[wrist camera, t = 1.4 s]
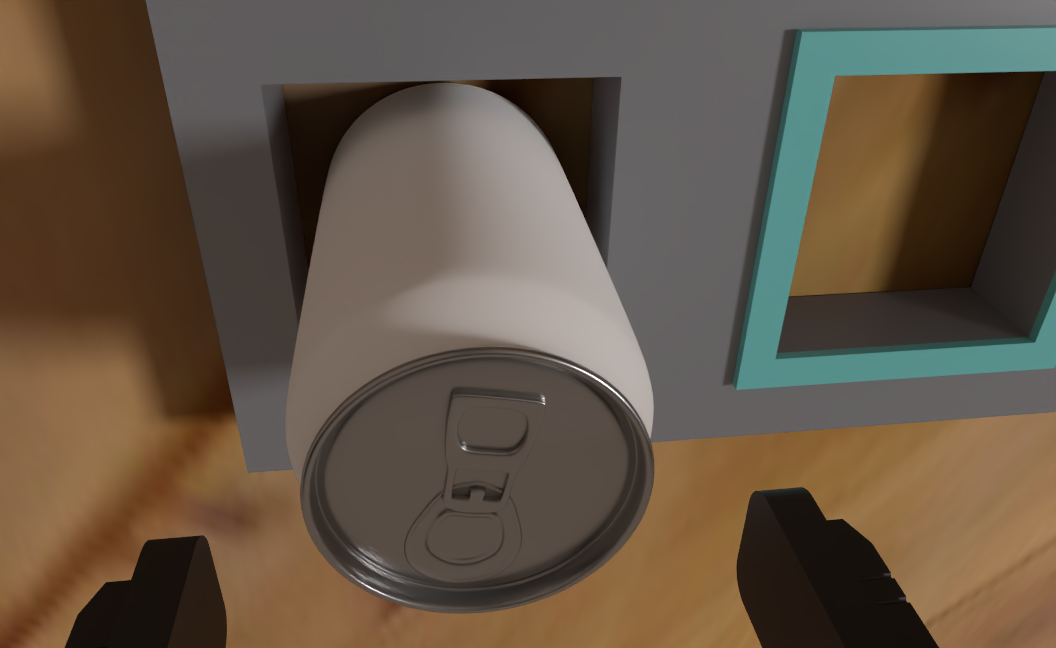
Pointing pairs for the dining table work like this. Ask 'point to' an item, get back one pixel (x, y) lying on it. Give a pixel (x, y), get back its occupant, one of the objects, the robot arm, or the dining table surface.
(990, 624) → the dining table surface
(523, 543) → the can
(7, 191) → the dining table surface
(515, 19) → the dock panel
